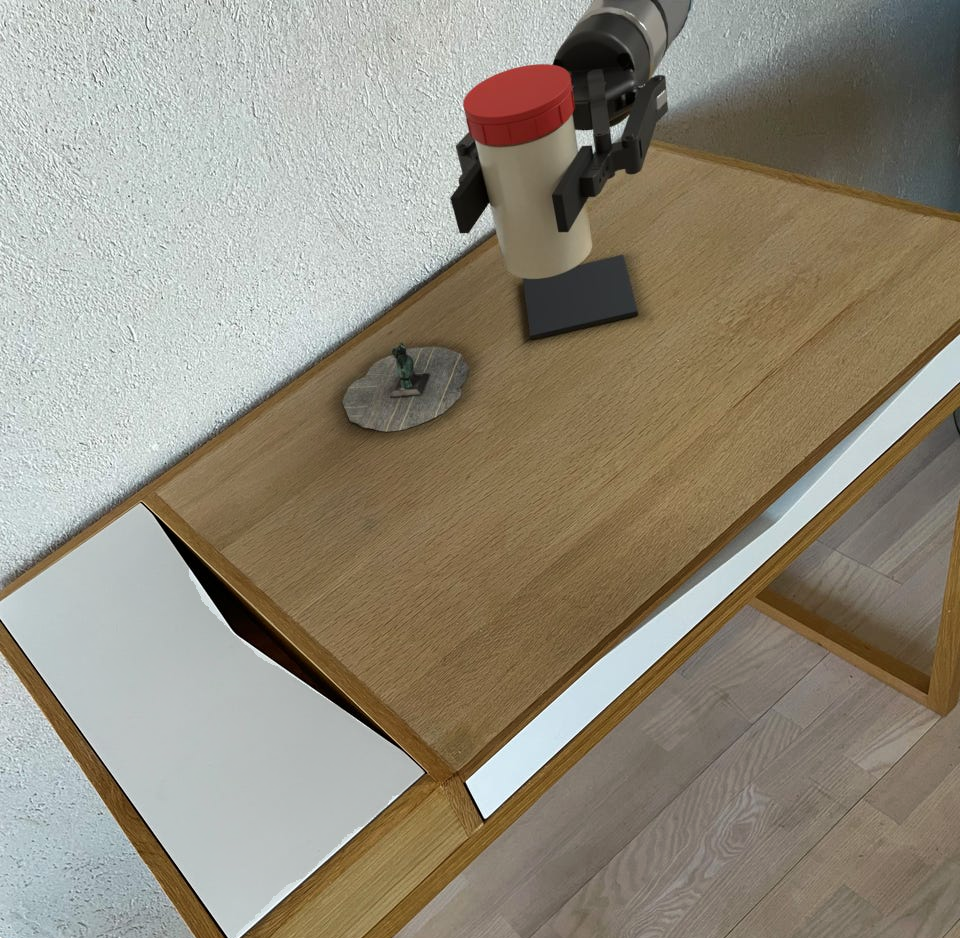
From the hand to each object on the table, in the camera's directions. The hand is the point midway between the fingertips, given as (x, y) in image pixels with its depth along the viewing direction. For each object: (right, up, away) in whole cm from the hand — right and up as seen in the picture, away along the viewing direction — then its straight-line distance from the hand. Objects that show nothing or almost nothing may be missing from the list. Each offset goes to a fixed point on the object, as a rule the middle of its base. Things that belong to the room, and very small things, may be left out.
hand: (508, 214), depth 67 cm
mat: (+7, +3, +24) cm, 25 cm away
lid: (+1, +7, -2) cm, 7 cm away
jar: (+3, 0, +7) cm, 8 cm away
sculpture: (-9, -7, +22) cm, 24 cm away
